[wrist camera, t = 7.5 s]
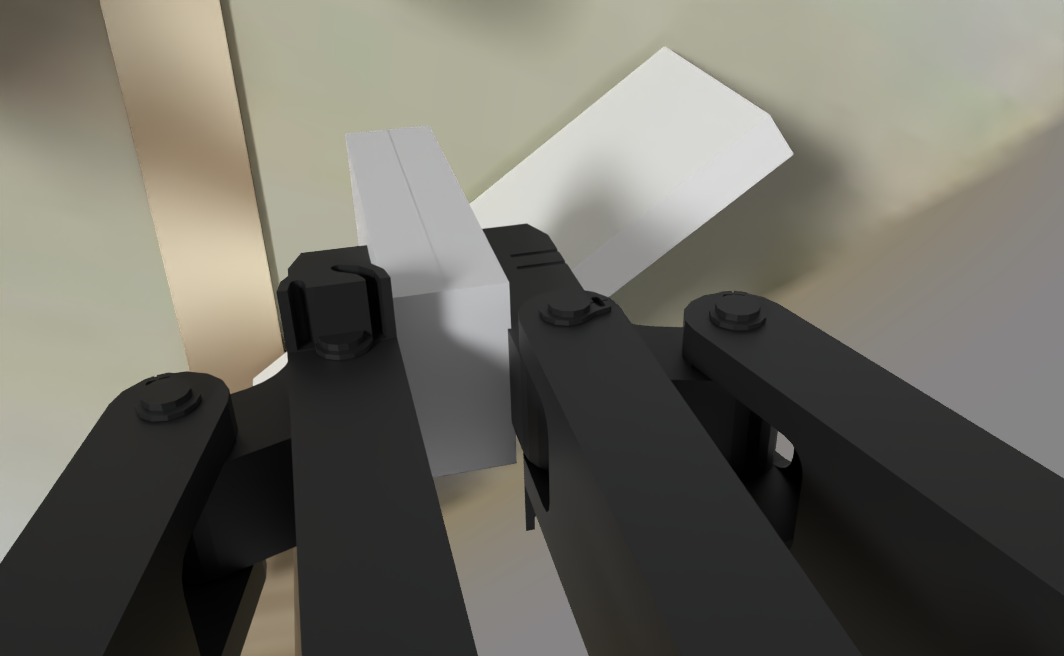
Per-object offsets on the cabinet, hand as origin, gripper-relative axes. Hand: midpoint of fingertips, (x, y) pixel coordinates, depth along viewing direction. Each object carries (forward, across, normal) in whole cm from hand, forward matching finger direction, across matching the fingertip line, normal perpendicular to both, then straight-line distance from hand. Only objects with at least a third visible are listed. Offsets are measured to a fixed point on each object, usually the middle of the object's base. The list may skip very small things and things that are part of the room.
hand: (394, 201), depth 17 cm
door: (+9, +2, -6) cm, 11 cm away
